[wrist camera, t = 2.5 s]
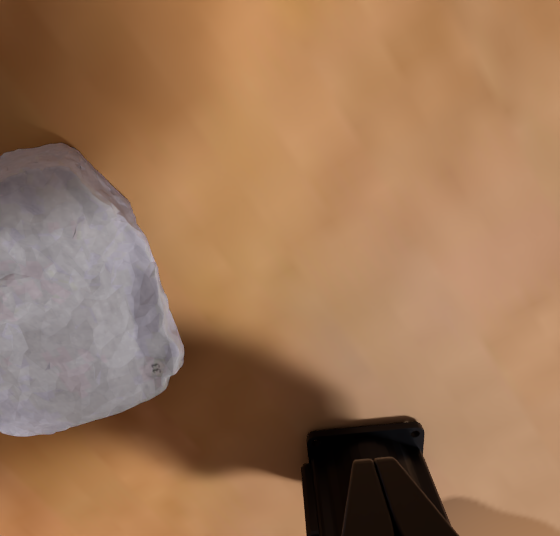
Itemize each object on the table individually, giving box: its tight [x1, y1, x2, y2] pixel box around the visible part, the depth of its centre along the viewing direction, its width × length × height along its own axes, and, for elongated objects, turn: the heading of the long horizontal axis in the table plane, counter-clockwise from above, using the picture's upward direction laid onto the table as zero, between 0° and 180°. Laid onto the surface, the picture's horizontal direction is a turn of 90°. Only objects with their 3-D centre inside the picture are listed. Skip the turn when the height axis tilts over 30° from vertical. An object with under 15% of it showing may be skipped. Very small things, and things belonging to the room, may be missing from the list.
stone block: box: [0, 143, 184, 436], centre depth 18 cm, size 12×5×10 cm
